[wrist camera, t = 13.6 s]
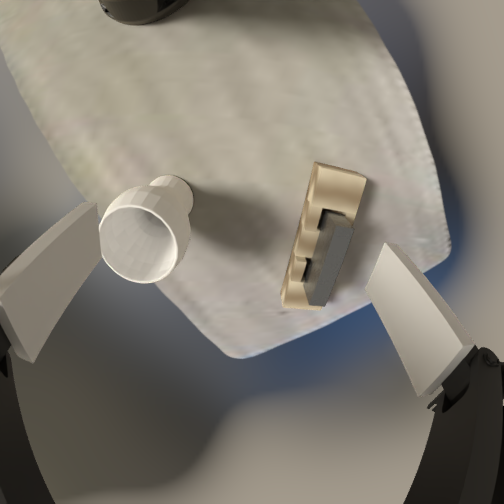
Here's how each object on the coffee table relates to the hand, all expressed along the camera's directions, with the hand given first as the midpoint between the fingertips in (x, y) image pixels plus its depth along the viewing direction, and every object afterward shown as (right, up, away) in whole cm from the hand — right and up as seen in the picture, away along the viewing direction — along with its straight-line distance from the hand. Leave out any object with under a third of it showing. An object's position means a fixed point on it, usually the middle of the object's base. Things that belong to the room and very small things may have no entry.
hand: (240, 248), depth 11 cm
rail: (+11, +2, +32) cm, 34 cm away
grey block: (+11, +1, +32) cm, 33 cm away
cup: (-12, +8, +28) cm, 32 cm away
